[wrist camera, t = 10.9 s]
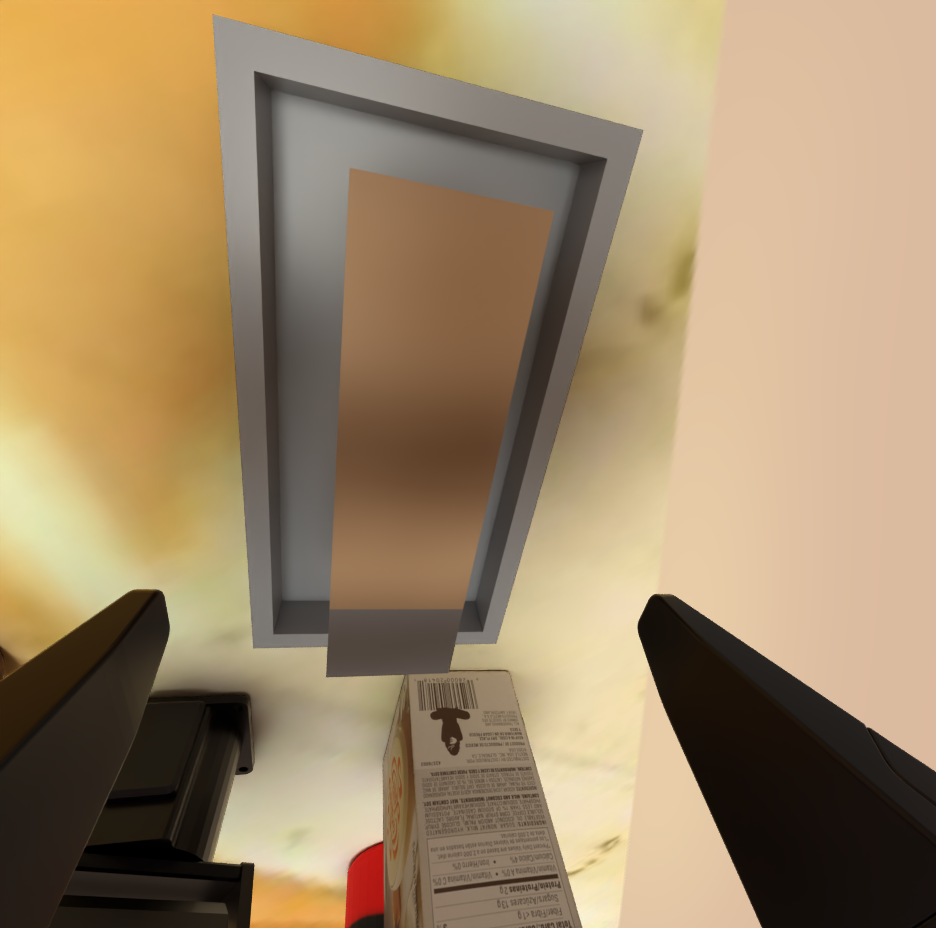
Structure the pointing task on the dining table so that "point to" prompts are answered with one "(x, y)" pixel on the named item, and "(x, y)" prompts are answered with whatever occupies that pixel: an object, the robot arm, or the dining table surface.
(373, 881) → the soda can
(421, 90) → the tray
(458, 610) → the brown rectangular block
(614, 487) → the dining table surface
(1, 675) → the bolt
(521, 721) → the coffee box
